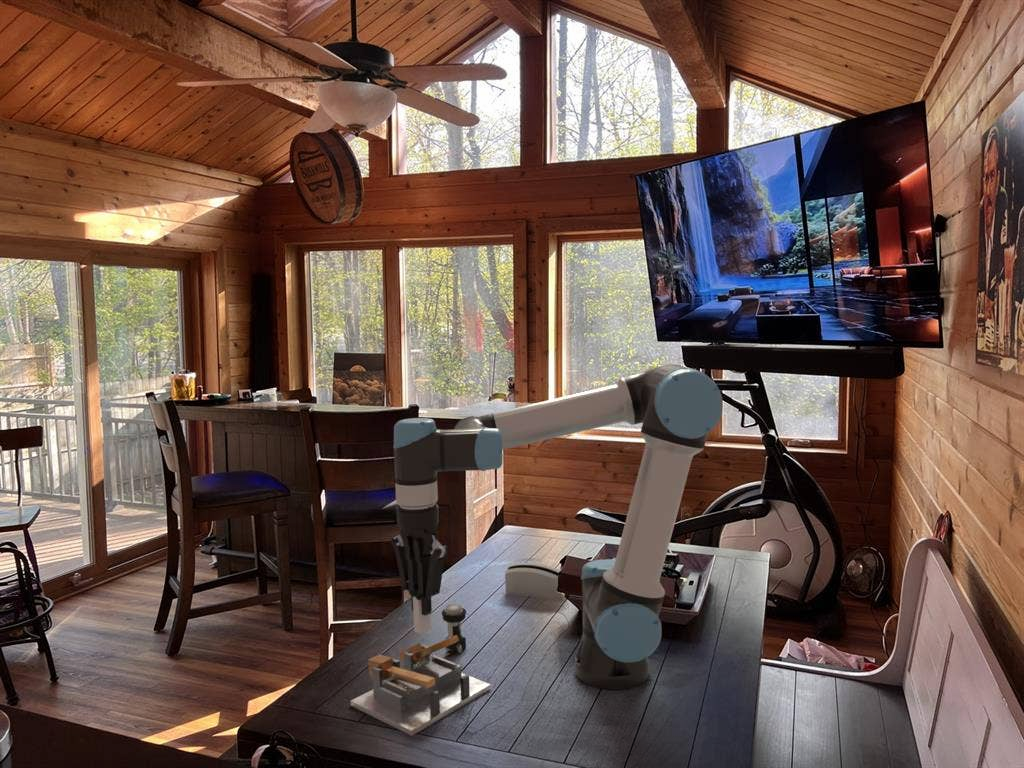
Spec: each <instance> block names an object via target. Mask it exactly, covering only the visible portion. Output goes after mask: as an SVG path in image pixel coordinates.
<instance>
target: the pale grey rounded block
mask: <svg viewBox="0 0 1024 768" xmlns="http://www.w3.org/2000/svg"><path fill="white" fill-rule="evenodd" d="M560 571H561V570H560V569H558V568H556V567H553V566H551V565H547V564H543V563H537V562H517V563H512V564H510V565H509V566H508V568H507V569H506V571H505V574H504V578H505V579H504V580H505V584H504V585H505V594H508V595H509V594H510V595H517V596H524V597H532V598H541V599H548V600H554V601H562V602H564V600H565V596H566V595H565V596H564V595H563V594H561V593H558V591H557V585H558V575H559V572H560ZM565 601H566V600H565Z"/></svg>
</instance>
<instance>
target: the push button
mask: <svg viewBox="0 0 1024 768" xmlns="http://www.w3.org/2000/svg"><path fill="white" fill-rule="evenodd" d="M466 615H467V610H466V609H465V608H463V606H462V605H460V604H457V603H456V604H455V603H454V604H453V603H451V604H449V605H447V606H446V607H445V609H443V610H442V611H441V616H442V621H444V622H446V624H447V639H448V638H450V637H453V636H455V635H457V636H458V638H459V641H458V642H456V643H454V644H451V645H449V646H447V647H444V650H442V653H443V655H442V657H446V656H451V657H453V656H454V655H457V654H458V653H462V652H463V651H464V650H466V648H467V640H466V639H467V637H464V636H463V635H462V622H463V621H464V620H465V619H466Z"/></svg>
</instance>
